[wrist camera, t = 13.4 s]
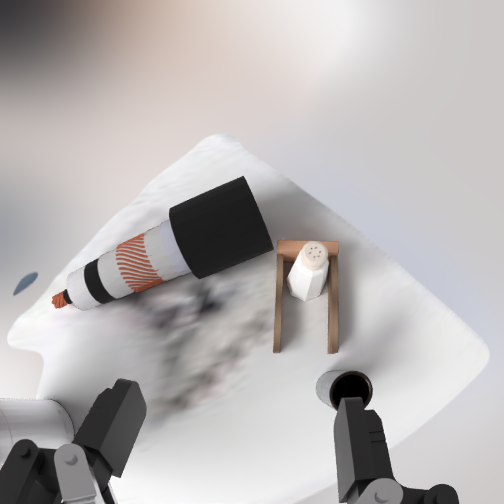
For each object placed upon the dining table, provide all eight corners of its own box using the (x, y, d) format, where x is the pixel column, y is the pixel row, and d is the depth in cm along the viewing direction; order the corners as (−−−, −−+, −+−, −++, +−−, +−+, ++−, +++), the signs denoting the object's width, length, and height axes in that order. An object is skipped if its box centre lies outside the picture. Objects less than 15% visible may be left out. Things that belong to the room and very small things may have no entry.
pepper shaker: (333, 283, 42) (351, 254, 31) (304, 309, 40) (314, 288, 30) (306, 255, 43) (315, 219, 33) (277, 280, 42) (278, 250, 32)
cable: (80, 299, 48) (44, 259, 41) (260, 221, 47) (237, 164, 40) (71, 345, 40) (27, 306, 34) (280, 264, 39) (256, 200, 33)
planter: (322, 409, 35) (338, 422, 26) (310, 379, 37) (322, 382, 27) (354, 395, 36) (379, 402, 26) (342, 365, 37) (363, 363, 28)
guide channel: (333, 353, 38) (339, 351, 34) (273, 352, 39) (273, 351, 35) (332, 253, 43) (338, 241, 39) (277, 251, 44) (277, 239, 40)
